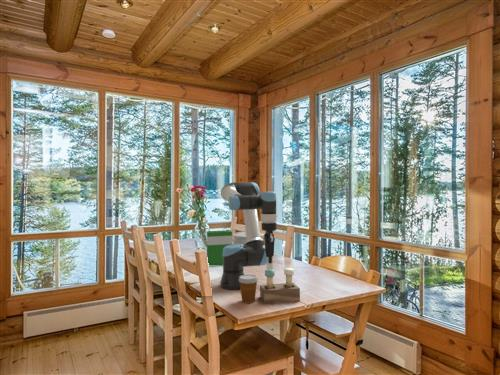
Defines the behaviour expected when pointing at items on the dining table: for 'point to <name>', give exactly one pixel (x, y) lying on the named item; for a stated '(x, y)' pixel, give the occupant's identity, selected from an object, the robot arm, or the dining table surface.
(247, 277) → the disposable coffee cup
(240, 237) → the chamber pot
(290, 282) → the knob
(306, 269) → the dining table surface
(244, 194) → the robot arm
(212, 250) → the hardback book
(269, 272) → the knob
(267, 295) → the mount
